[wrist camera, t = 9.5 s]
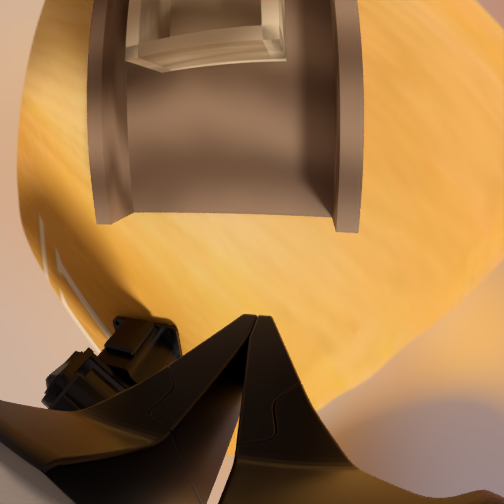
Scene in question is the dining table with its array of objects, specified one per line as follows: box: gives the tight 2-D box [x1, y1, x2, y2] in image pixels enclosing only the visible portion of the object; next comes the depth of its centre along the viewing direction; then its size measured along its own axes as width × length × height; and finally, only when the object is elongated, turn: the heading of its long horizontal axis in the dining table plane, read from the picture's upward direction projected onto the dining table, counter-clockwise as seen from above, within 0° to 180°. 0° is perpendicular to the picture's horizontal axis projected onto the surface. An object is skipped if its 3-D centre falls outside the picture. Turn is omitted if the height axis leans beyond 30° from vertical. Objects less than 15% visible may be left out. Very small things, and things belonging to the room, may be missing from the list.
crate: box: [125, 0, 287, 73], centre depth 13 cm, size 7×8×4 cm
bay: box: [87, 0, 364, 233], centre depth 14 cm, size 18×16×6 cm
